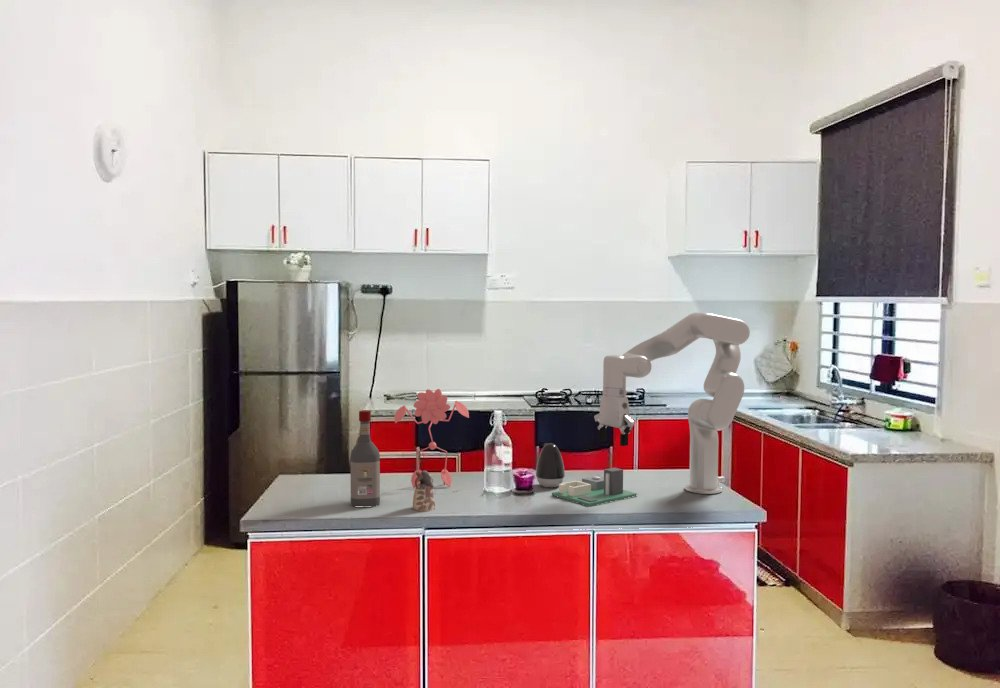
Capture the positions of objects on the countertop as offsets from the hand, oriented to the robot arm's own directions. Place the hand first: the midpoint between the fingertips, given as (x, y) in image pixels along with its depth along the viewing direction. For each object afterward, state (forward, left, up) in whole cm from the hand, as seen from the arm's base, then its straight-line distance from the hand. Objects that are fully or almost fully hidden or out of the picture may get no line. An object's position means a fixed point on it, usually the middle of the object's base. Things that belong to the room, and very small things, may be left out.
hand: (613, 443), depth 268 cm
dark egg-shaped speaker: (+7, -24, -18) cm, 31 cm away
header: (+10, -8, -18) cm, 22 cm away
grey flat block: (-2, -10, -17) cm, 20 cm away
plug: (0, 0, -17) cm, 17 cm away
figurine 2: (+59, -25, -18) cm, 66 cm away
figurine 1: (+43, -45, -18) cm, 65 cm away
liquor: (+71, -41, -18) cm, 84 cm away
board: (+5, -4, -18) cm, 19 cm away
